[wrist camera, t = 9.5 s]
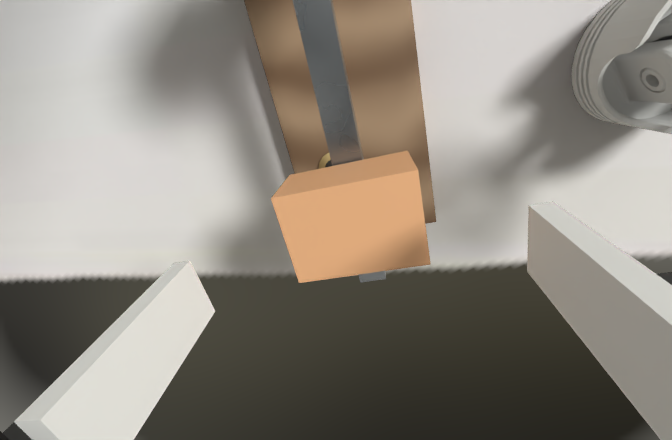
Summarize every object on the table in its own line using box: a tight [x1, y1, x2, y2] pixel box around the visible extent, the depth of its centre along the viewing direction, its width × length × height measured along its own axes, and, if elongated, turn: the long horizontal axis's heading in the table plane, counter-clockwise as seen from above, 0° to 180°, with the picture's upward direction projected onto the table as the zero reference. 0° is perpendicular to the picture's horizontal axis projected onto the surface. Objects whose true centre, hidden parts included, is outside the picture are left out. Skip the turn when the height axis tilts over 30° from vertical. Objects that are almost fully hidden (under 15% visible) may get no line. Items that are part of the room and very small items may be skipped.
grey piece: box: [292, 0, 386, 282], centre depth 19 cm, size 26×7×14 cm, turn 13°
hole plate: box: [244, 0, 436, 224], centre depth 25 cm, size 30×12×2 cm, turn 13°
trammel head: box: [271, 151, 430, 283], centre depth 21 cm, size 5×7×13 cm
